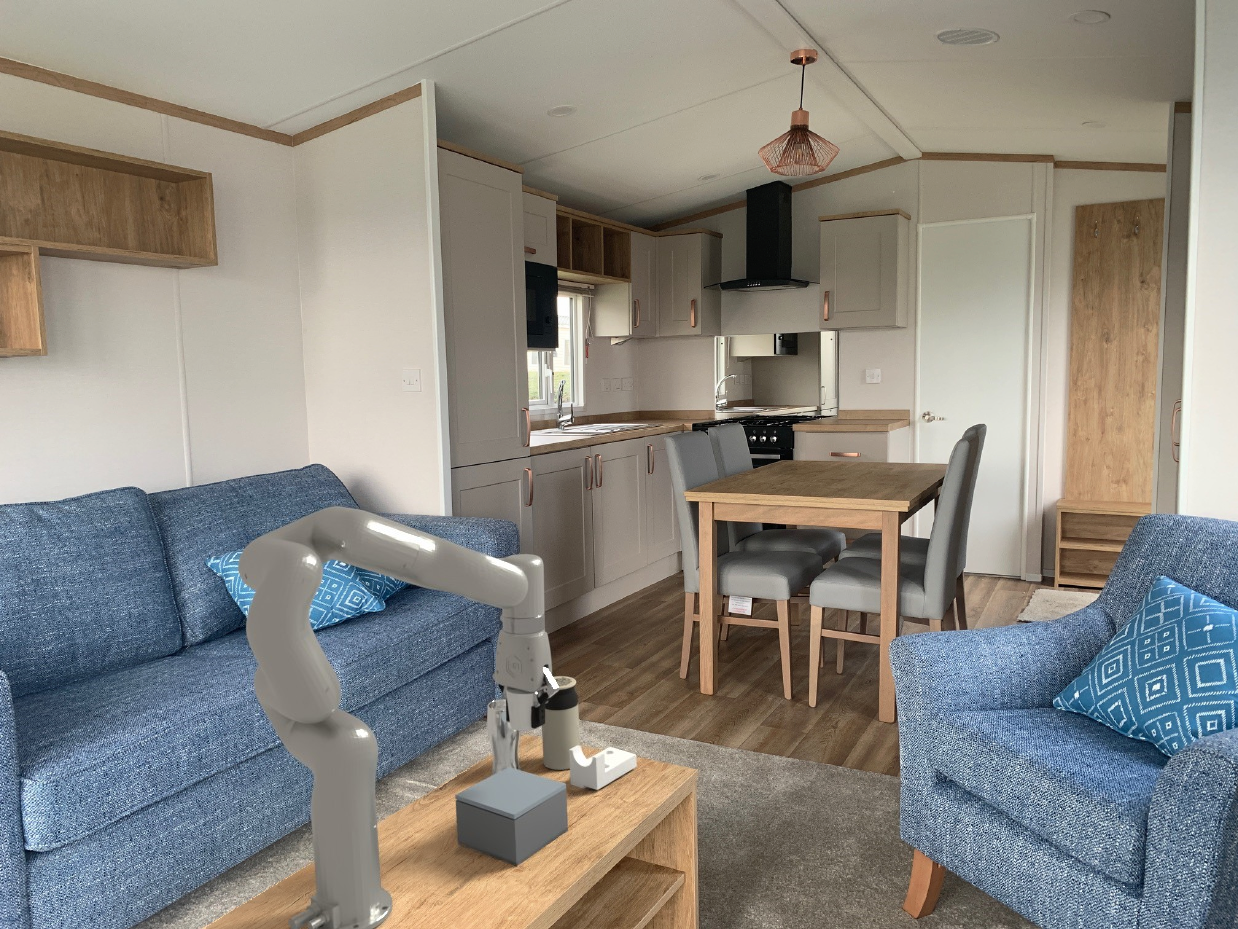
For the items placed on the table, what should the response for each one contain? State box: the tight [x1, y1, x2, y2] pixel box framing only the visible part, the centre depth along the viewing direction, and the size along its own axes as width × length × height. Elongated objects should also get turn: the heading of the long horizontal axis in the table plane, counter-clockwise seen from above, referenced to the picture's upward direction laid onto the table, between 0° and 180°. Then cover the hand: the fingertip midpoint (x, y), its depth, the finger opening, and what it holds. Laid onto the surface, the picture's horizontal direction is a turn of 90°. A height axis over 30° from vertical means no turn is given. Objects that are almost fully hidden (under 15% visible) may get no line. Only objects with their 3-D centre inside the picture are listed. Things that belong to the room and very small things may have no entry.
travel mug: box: [541, 675, 581, 771], centre depth 187 cm, size 8×8×18 cm
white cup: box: [506, 687, 542, 732], centre depth 157 cm, size 7×7×7 cm
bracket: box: [569, 745, 637, 791], centre depth 180 cm, size 13×7×8 cm, turn 142°
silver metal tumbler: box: [486, 698, 522, 776], centre depth 183 cm, size 7×7×15 cm
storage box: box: [455, 788, 569, 867], centre depth 157 cm, size 14×14×8 cm
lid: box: [454, 767, 567, 819], centre depth 156 cm, size 14×14×1 cm
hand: (525, 721), depth 157 cm, fingers closed on white cup, 5 cm apart
